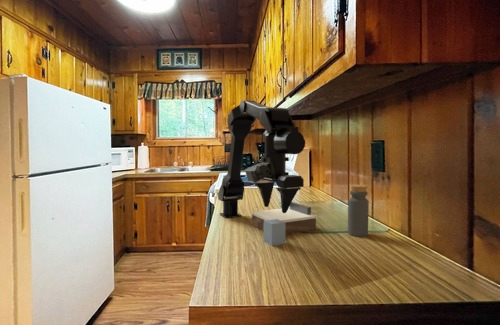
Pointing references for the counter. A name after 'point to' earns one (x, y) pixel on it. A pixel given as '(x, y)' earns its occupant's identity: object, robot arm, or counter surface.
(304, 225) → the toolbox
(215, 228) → the counter surface
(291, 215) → the lid
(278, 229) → the blue gray block
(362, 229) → the bottle
